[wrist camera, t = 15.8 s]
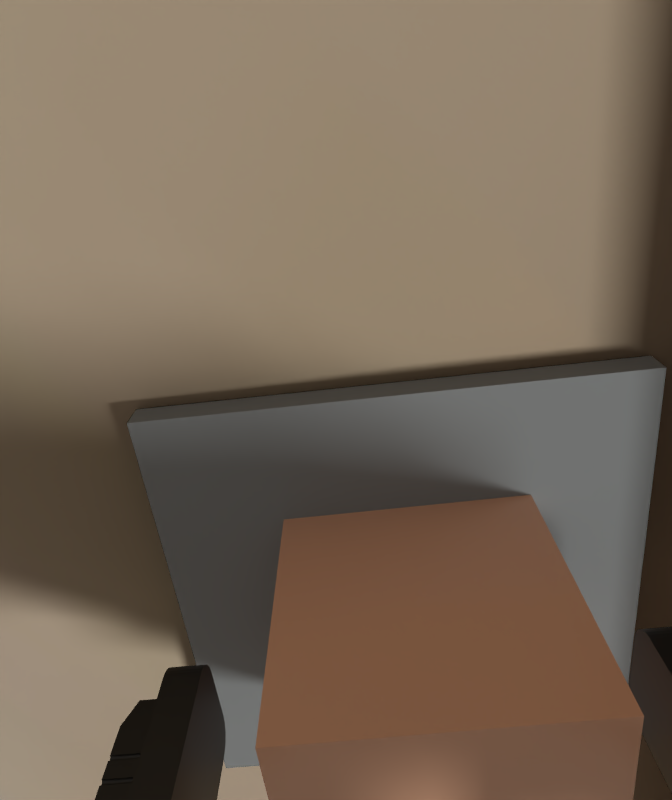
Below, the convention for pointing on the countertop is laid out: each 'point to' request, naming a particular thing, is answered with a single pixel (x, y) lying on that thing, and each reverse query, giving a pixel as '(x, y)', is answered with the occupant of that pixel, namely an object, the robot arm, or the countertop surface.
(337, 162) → the countertop surface
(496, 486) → the pad
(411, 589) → the cube
